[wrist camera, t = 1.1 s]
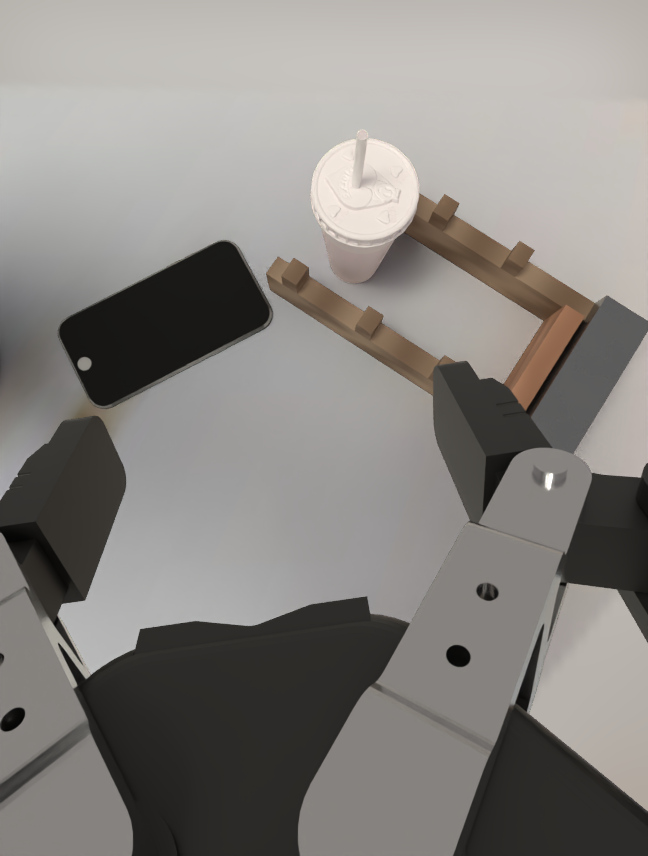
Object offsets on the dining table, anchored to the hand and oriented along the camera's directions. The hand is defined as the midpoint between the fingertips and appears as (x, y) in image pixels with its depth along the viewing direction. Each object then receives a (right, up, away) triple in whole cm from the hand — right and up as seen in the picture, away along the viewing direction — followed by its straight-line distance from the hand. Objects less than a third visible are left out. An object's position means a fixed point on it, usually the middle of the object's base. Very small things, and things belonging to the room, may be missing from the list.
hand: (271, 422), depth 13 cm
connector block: (+19, +3, +26) cm, 32 cm away
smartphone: (-11, +8, +27) cm, 30 cm away
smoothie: (+4, +13, +27) cm, 30 cm away
